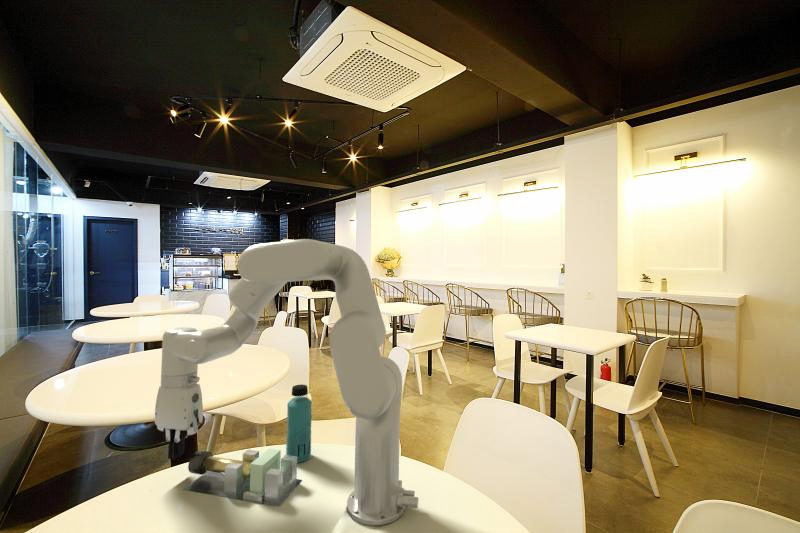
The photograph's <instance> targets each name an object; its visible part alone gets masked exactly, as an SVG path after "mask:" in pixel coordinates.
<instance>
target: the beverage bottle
mask: <svg viewBox="0 0 800 533" xmlns="http://www.w3.org/2000/svg"><path fill="white" fill-rule="evenodd" d="M308 393H309V391H308V386H307V384H296V385H293V386H292V389H291V395H292V396H293V398H291V399H290V400H289V401H288V402H287V413H286V414H287V417H286V419H287V421H286V441H285V442H286V447H285V455H290V456H297V464H298V463H303V462H305V461H308V460H309V459H310V457H311V453H312V418H313V416H312V412H313V411H312V403H313V402H312V401H311V399H310V398H308V397H307V395H308Z"/></svg>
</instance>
